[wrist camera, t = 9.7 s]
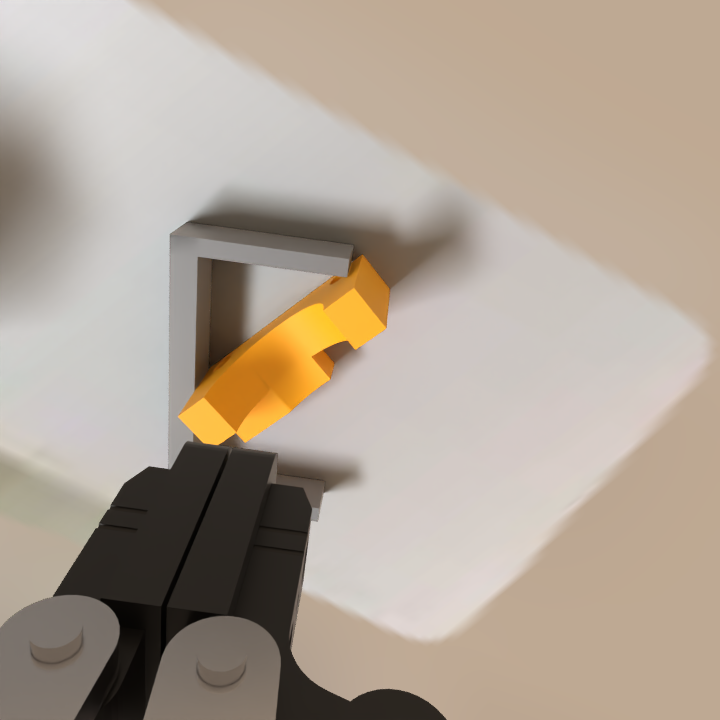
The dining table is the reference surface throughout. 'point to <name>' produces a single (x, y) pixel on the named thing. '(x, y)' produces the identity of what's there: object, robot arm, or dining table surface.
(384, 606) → the dining table surface
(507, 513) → the dining table surface
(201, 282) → the frame
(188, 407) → the pipe clamp
